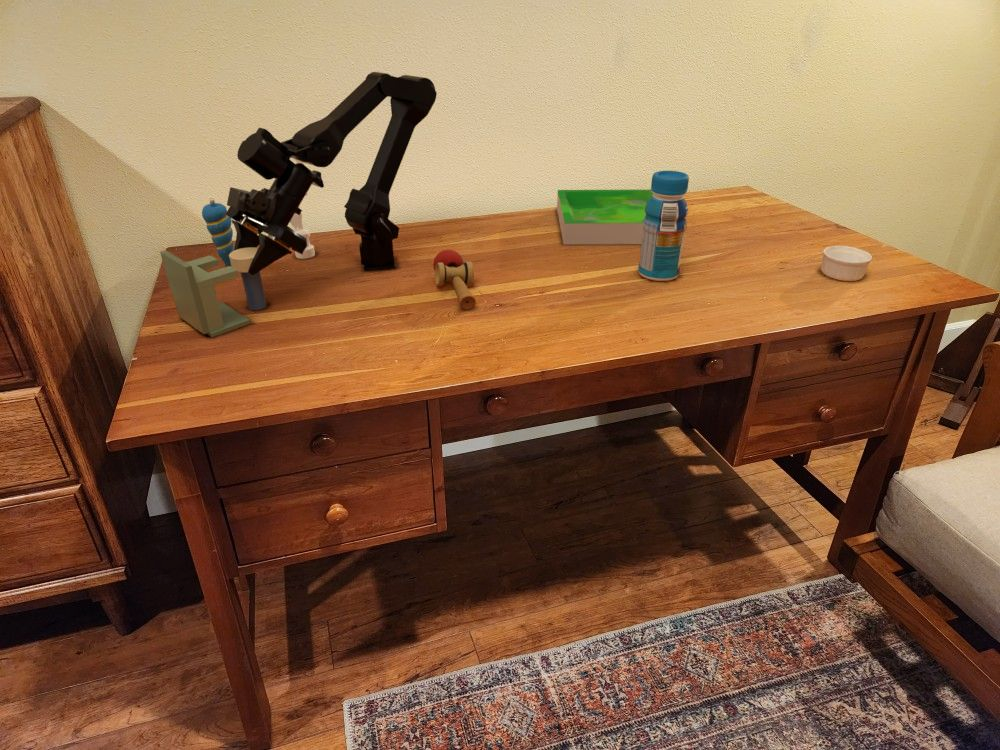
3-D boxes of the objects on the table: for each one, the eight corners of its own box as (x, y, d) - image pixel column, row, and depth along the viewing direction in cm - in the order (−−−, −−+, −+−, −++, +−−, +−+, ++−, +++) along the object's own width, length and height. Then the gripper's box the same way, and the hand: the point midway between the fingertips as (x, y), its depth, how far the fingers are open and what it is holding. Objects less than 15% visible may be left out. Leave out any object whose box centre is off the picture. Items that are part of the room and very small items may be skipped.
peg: (275, 298, 127) (264, 246, 122) (272, 311, 122) (261, 257, 117) (243, 301, 126) (231, 248, 121) (239, 315, 121) (226, 260, 116)
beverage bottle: (629, 274, 135) (639, 175, 125) (651, 263, 141) (663, 166, 130) (665, 286, 131) (679, 183, 120) (687, 273, 136) (702, 174, 125)
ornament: (233, 273, 138) (216, 201, 130) (210, 272, 139) (192, 200, 131) (246, 264, 142) (230, 194, 134) (224, 262, 143) (207, 192, 135)
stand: (221, 305, 125) (205, 238, 118) (251, 323, 118) (235, 254, 112) (178, 319, 120) (158, 250, 113) (206, 339, 113) (187, 268, 107)
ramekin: (875, 276, 134) (882, 256, 131) (847, 286, 130) (853, 265, 128) (836, 262, 140) (841, 242, 138) (808, 271, 136) (813, 250, 134)
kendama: (492, 312, 124) (466, 264, 138) (486, 284, 120) (460, 237, 133) (452, 324, 123) (430, 275, 137) (445, 296, 119) (423, 248, 132)
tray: (675, 244, 150) (678, 222, 147) (563, 244, 150) (564, 222, 148) (654, 208, 171) (657, 189, 169) (556, 209, 172) (557, 189, 169)
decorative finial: (294, 259, 144) (273, 139, 131) (293, 253, 147) (272, 134, 134) (322, 256, 145) (304, 136, 132) (320, 249, 149) (302, 132, 136)
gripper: (224, 159, 119) (179, 234, 118) (278, 178, 108) (229, 261, 107) (272, 193, 128) (231, 263, 127) (327, 214, 117) (282, 291, 116)
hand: (241, 269), depth 119 cm, fingers closed on peg, 6 cm apart
